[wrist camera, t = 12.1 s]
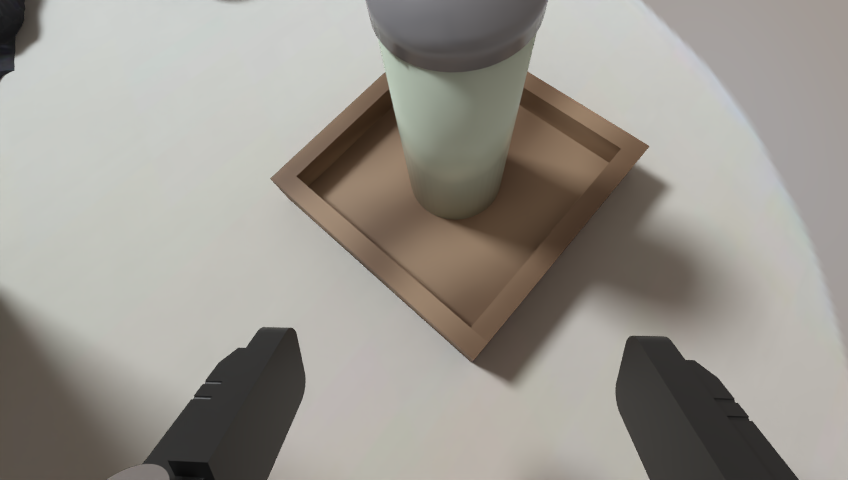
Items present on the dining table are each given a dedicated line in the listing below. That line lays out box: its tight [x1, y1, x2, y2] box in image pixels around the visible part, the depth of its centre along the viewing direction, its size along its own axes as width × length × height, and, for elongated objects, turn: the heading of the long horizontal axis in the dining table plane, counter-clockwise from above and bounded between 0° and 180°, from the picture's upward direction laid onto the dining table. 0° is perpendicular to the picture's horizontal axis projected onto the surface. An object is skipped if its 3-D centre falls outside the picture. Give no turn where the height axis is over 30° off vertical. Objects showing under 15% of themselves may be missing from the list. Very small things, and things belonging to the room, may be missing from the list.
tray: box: [270, 72, 649, 362], centre depth 22 cm, size 14×14×2 cm
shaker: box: [366, 0, 548, 220], centre depth 16 cm, size 5×5×12 cm
